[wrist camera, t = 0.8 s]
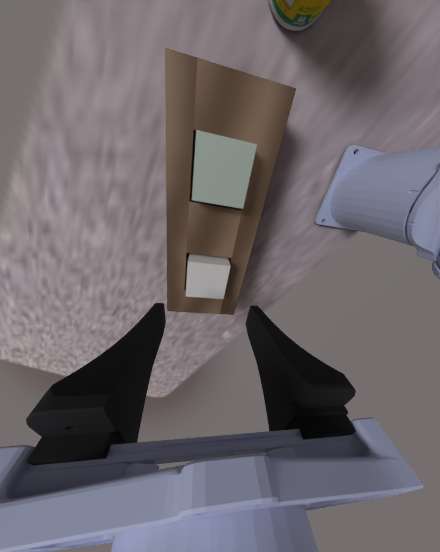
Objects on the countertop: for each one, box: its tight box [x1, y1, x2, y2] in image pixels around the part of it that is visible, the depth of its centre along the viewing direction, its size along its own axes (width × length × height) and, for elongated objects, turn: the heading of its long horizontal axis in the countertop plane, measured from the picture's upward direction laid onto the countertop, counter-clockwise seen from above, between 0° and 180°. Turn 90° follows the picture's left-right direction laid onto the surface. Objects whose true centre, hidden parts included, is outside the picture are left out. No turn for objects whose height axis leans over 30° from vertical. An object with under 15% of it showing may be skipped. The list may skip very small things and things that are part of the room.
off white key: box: [186, 253, 231, 299], centre depth 18 cm, size 4×4×3 cm
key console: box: [165, 48, 296, 315], centre depth 18 cm, size 9×22×4 cm, turn 171°
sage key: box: [192, 130, 257, 209], centre depth 13 cm, size 4×4×3 cm
